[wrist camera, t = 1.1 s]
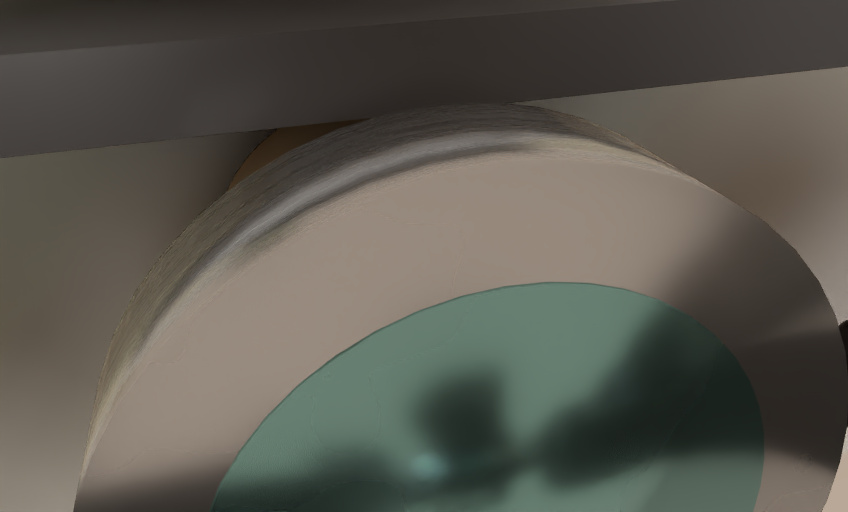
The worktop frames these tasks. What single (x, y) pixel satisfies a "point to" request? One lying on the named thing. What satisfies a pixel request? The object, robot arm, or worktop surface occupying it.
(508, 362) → the disc
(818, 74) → the worktop surface
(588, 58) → the tray
